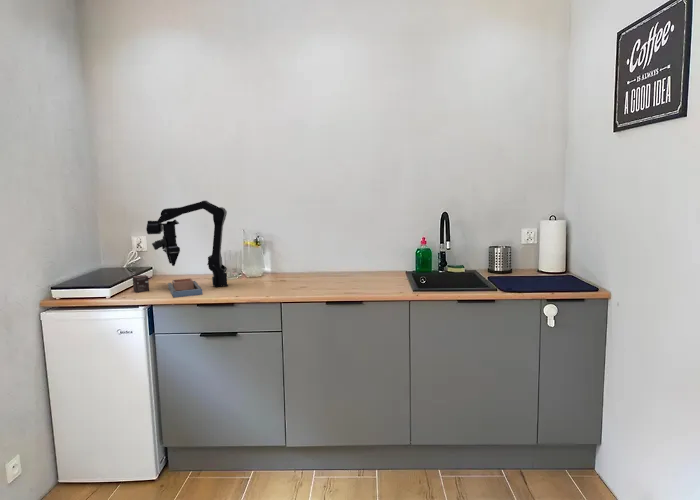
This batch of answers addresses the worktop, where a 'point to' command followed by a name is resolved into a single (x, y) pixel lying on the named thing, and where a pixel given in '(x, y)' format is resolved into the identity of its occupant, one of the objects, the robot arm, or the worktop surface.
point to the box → (140, 283)
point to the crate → (183, 284)
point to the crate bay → (185, 291)
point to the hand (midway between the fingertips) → (171, 264)
